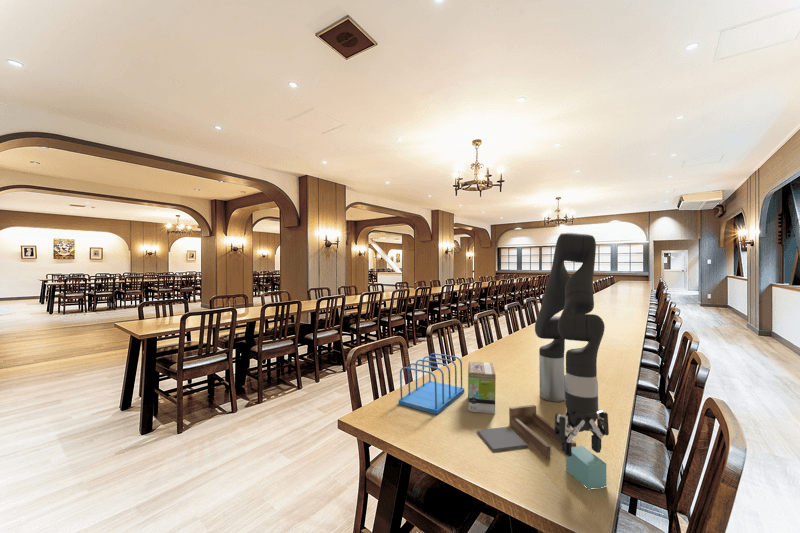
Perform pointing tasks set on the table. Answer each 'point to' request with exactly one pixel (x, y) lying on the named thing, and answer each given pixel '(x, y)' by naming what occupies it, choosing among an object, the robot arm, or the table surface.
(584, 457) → the teal blank
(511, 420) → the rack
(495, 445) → the felt mat
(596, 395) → the robot arm
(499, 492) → the table surface
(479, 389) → the tea box
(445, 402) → the file sorter
